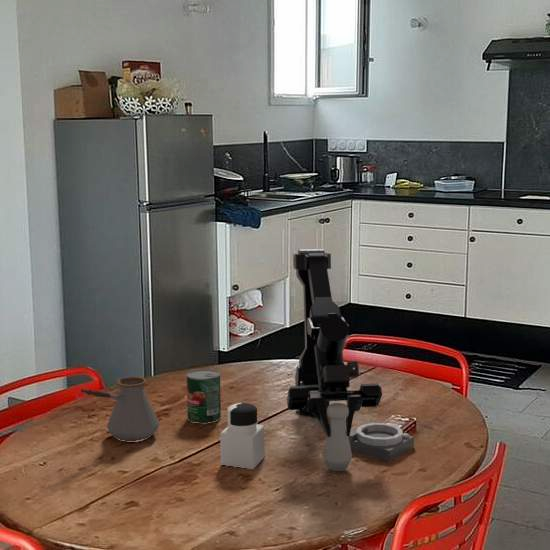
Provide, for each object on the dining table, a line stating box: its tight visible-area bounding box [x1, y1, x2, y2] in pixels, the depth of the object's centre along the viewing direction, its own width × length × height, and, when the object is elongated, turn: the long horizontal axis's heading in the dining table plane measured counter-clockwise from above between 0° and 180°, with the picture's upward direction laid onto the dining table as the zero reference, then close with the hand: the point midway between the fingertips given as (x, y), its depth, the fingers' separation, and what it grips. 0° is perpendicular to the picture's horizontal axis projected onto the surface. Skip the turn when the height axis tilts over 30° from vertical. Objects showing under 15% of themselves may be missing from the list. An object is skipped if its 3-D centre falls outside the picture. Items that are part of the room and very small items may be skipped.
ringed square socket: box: [349, 420, 415, 463], centre depth 182 cm, size 11×10×4 cm
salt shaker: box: [322, 402, 353, 472], centre depth 170 cm, size 6×6×13 cm
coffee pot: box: [76, 376, 160, 441], centre depth 185 cm, size 21×12×15 cm, turn 147°
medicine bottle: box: [219, 402, 266, 470], centre depth 175 cm, size 7×7×12 cm
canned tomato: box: [186, 368, 222, 423], centre depth 200 cm, size 8×8×11 cm
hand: (338, 435), depth 168 cm, fingers closed on salt shaker, 4 cm apart
